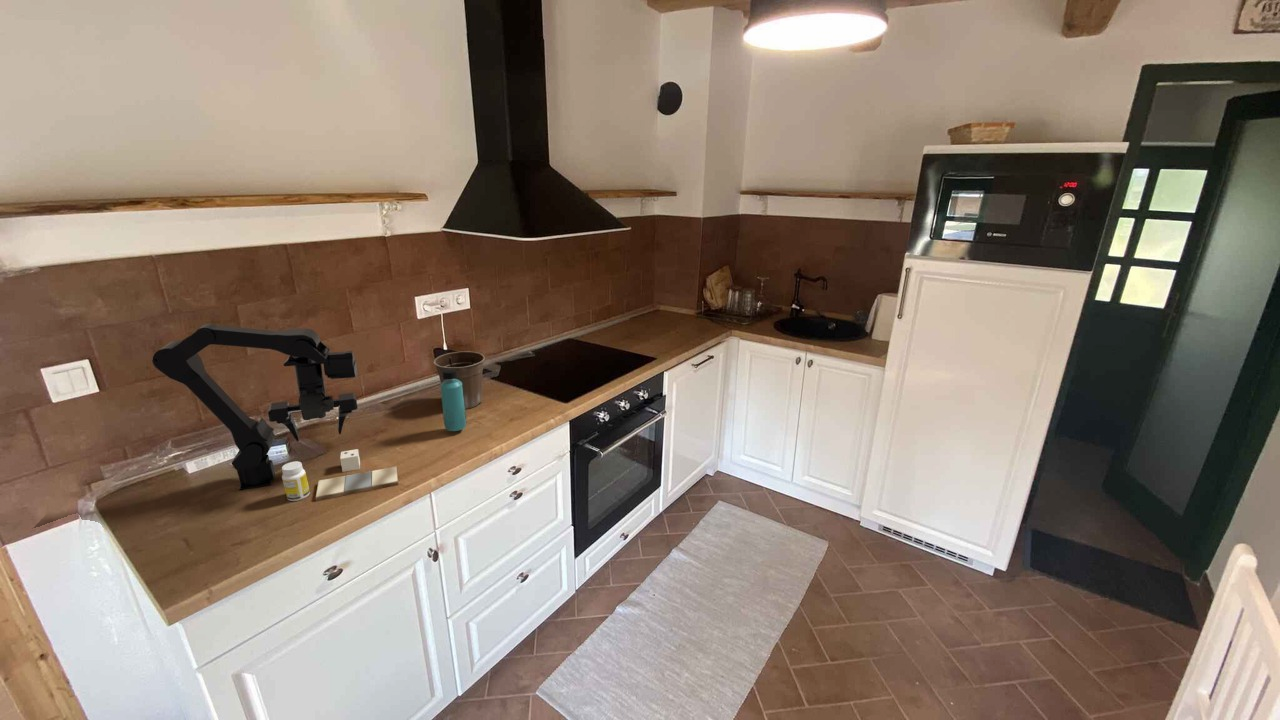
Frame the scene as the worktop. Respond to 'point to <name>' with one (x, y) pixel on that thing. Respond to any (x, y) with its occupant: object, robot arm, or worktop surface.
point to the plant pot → (464, 373)
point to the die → (350, 460)
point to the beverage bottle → (453, 401)
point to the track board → (356, 483)
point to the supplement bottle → (295, 481)
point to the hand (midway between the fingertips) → (319, 437)
